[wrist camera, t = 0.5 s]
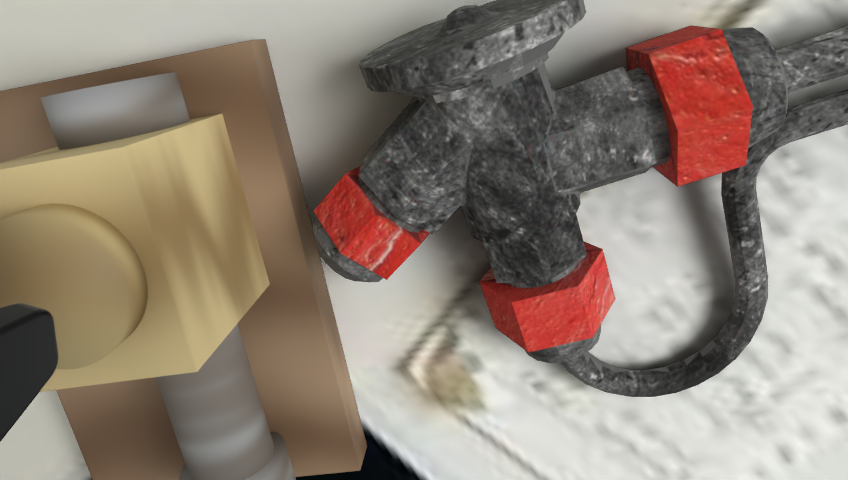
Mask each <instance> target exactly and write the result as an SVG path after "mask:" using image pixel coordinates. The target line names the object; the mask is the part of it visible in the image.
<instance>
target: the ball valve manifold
mask: <svg viewBox="0 0 848 480" xmlns="http://www.w3.org/2000/svg"><path fill="white" fill-rule="evenodd" d="M16 303H25V304H29V305H32V306H36V307H39V308H42V309H45V310H47V311H49V312H50V313H51V315H52V316H53V319H54V325H55V332H56V340H57V348H58V356H59V359H58V364H57V367H56V369H55V371H54V373H53V375H52V376H51V378H50V379H49V380H48V381H47V383H46V384H45V385H44V387H43V388H42V389H41V390H40V392H43V391H51V390H57V393H58V395H59V398H60V400H61V403H62V405H63V407H64V410H65V412H66V415H67V417H68V420H69V422H70V425H71V427H72V430H73V432H74V434H75V437H76V439H77V442H78V444H79V447H80V449H81V452H82V454H83V456H84V459H85V461H86V464H87V466H88V469H89V471H90V474H91V476H92V479H93V480H296V478H295V477H299V476H309V475H319V474H329V473H339V472H349V471H359V470H360V469H361V466H362V462H363V459H364V455H365V452H366V448H367V444H366V440H365V436H364V432H363V428H362V424H361V420H360V416H359V412H358V408H357V404H356V400H355V396H354V392H353V388H352V384H351V380H350V376H349V372H348V368H347V364H346V360H345V356H344V352H343V348H342V344H341V340H340V336H339V332H338V328H337V324H336V320H335V316H334V312H333V308H332V304H331V300H330V296H329V292H328V288H327V284H326V280H325V276H324V272H323V268H322V264H321V260H320V256H319V252H318V249H317V247H316V243H315V237H314V232H313V228H312V224H311V220H310V216H309V212H308V208H307V204H306V200H305V196H304V192H303V188H302V184H301V180H300V176H299V172H298V168H297V164H296V160H295V156H294V152H293V148H292V144H291V140H290V136H289V132H288V128H287V124H286V120H285V116H284V112H283V108H282V104H281V100H280V96H279V92H278V88H277V84H276V80H275V76H274V72H273V68H272V64H271V60H270V56H269V52H268V48H267V44H266V40H265V39H264V40H250V41H245V42H240V43H235V44H230V45H225V46H220V47H215V48H210V49H205V50H201V51H196V52H191V53H186V54H181V55H176V56H171V57H166V58H161V59H156V60H152V61H147V62H142V63H137V64H132V65H127V66H122V67H117V68H112V69H107V70H102V71H98V72H93V73H88V74H83V75H78V76H73V77H68V78H63V79H58V80H53V81H48V82H44V83H39V84H34V85H29V86H24V87H19V88H14V89H9V90H4V91H0V308H1V307H4V306H8V305H12V304H16Z"/></svg>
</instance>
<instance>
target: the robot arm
mask: <svg viewBox="0 0 848 480" xmlns="http://www.w3.org/2000/svg"><path fill="white" fill-rule="evenodd" d="M58 359H59V356H58V348H57V340H56V332H55V325H54V319H53V316H52V315H51V313H50V312H49V311H47V310H45V309H42V308H39V307H36V306H32V305H29V304H25V303H16V304H12V305H8V306H4V307H1V308H0V441H1V440H2V439H3V438H4V436H5V435H6V434H7V432H8V431H9V430H10V429H11V427H12V426H13V425H14V424H15V422H16V421H17V420H18V418H19V417H20V416H21V415H22V413H23V412H24V411H25V410H26V408H27V407H28V406H29V404H30V403H31V402H32V401H33V399H34V398H35V397H36V395H37V394H38V393H39V392H40V390H41V389H42V388H43V387H44V385H45V384H46V383H47V381H48V380H49V379H50V378H51V376H52V375H53V373H54V371H55V369H56V367H57V364H58Z"/></svg>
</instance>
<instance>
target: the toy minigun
mask: <svg viewBox="0 0 848 480" xmlns="http://www.w3.org/2000/svg"><path fill="white" fill-rule="evenodd" d="M489 5H490V6H489ZM585 13H586V10H585V5H584V1H583V0H496V1H493V2H490V3H487V4H485V5H482V6H479V7H478V6H470V5H468V6H463V7H460V8H458V9H456V10H454V11H453V12H451V13H450V14H449V15H448V16H447V18H445V19H443V20H440V21H437V22H434V23H431V24H429V25H426V26H423V27H421V28H418V29H416V30H414V31H412V32H409V33H407V34H405V35H403V36H401V37H399V38H396V39H394V40H393V41H391V42H389V43H387V44H385V45H383V46H381V47H379V48H378V49H376V50H375V51H373V52H371V53H370V54H368V55H367V56H366V57H365V58H363V59H362V60H361V62H360V64H359V66H360V68H361V71H362V74H363V76H364V79H365V81H366V84H367V87H368V88H369V89H370V90H371V91H378V92H386V91H395V92H398V93H401V94H403V95H406V96H411V97H415V98H414V99H413V100H412V101H411V102H410V104H409V105H408V106H407V107H406V108H405V109H404V111H403V112H402V113H401V114H400V115H399V116H398V117H397V119H396V120H395V121H394V122H393V123H392V124H391V125H390V127H389V128H388V129H387V130H386V131H385V132H384V134H383V135H382V136H381V137H380V138H379V139H378V140H377V142H376V143H375V144H374V145H373V146H372V147H371V149H370V150H369V151H368V152H367V153H366V154H365V155H364V157H363V159H362V163H361V166H360V167H358V168H356V169H353V170H351V171H349V172H347V173H346V174H345V175H344V176H343V177H342V178H341V179H340V181H339V182H338V183H337V184H336V185H335V186H334V188H333V189H332V190H331V191H330V192H329V193H328V195H327V196H326V197H325V198H324V199H323V200H322V202H321V203H320V204H319V205H318V206H317V207H316V209H315V210H314V213H315V214H316V216H317V217H316V218H315V220H314V222H313V225H312V226H313V231H314V237H315V243H316V247H317V249H318V252H319V254H320V256H321V257H322V258H323V260H324V261H325V263H326V264H327V265H328V266H330V267H331V268H332V269H333V270H334V271H335V272H336V273H338V274H340V275H341V276H343V277H344V278H347V279H350V280H353V281H362V282H379V281H380V280H381V279H383V278H385V279H386V280H387V279H388V278H389V277H390V276H391V275H392V274H393V272H394V271H395V270H396V269H397V268H398V267H399V266H400V265H401V264H402V263H403V262H404V261H405V260H406V259H407V258H408V257H409V256H410V255H411V254H412V253H413V252H414V251H415V249H416V248H417V247H418V246H419V245H420V244H421V243H422V242H423V241H424V239H425V238H426V237H427V236H428V235H429V233H432V234H435V233H436V232H437V230H438V229H439V228H440V227H441V226H442V225H443V224H444V223H445V222H446V221H447V220H448V219H449V217H450V216H451V215H452V214H453V213H454V212H455V211H456V210H457V209H458V208H459V207H460V206H461V208H462V211H463V213H464V216H465V219H466V222H467V225H468V228H469V231H470V233H471V234H472V235H473V237H474V238H475V239H478V240H480V241H482V242H483V244H484V247H485V250H486V253H487V256H488V259H489V262H490V264H491V268H490V269H489V270H488V272H487V273H486V274H485V275H484V276H483V277H482V279H481V280H480V281H479V282H480V285H481V288H482V291H483V294H484V296H485V299H486V302H487V305H488V308H489V310H490V313H491V316H492V319H493V322H494V325H495V327H496V328H497V329H498V330H499V331H501V332H502V333H503V334H505V335H506V336H507V337H508V338H510V339H511V340H512V341H514V342H515V343H516V344H518V345H519V346H520V347H522V348H523V349H524V350H525V351H526V353H527V354H528V355H529V356H531V357H533V358H534V359H536V360H538V361H543V362H549V363H554V362H561V363H562V364H563V365H564V366H565V368H566V369H567V370H568V371H569V372H570V373H571V374H573V375H574V376H576V377H577V378H578V379H580V380H581V381H583V382H584V383H586V384H587V385H590V386H592V387H595V388H597V389H600V390H602V391H604V392H608V393H613V394H619V395H624V396H630V397H654V396H660V395H666V394H671V393H676V392H679V391H682V390H685V389H688V388H690V387H693V386H696V385H698V384H700V383H702V382H704V381H706V380H707V379H709V378H711V377H713V376H714V375H716V374H718V373H719V372H720V371H722V370H723V369H724V368H725V367H726V366H728V365H729V364H730V363H731V362H733V361H734V360H735V359H736V358H737V357H738V356H739V354H740V353H741V352H742V351H743V350H744V348H745V347H746V346H747V345H748V344H749V342H750V341H751V339H752V337H753V335H754V334H755V332H756V330H757V328H758V326H759V324H760V322H761V320H762V318H763V314H764V310H765V306H766V302H767V299H768V274H767V266H766V259H765V252H764V244H763V237H762V230H761V222H760V215H759V208H758V200H757V193H756V177H757V175H758V172H759V169H760V167H761V165H762V164H763V162H764V161H765V160H766V158H767V157H768V156H769V155H770V154H771V153H773V152H774V151H775V150H776V149H778V148H779V147H781V146H783V145H785V144H787V143H790V142H792V141H795V140H799V139H802V138H805V137H808V136H812V135H815V134H818V133H821V132H824V131H828V130H831V129H834V128H837V127H840V126H844V125H847V124H848V90H845V91H842V92H838V93H835V94H832V95H829V96H826V97H823V98H820V99H816V100H813V101H810V102H807V103H804V104H801V105H798V106H795V107H791V108H788V109H787V106H788V93H789V92H793V91H796V90H799V89H802V88H805V87H808V86H811V85H814V84H817V83H821V82H824V81H827V80H830V79H833V78H836V77H839V76H842V75H845V74H848V26H847V27H844V28H841V29H838V30H835V31H832V32H829V33H826V34H823V35H820V36H817V37H814V38H811V39H808V40H805V41H802V42H799V43H796V44H793V45H789V46H786V47H783V48H780V49H777V50H775V48H774V47H773V46H772V44H771V43H770V41H769V40H768V39H767V38H766V37H765V36H764V35H763V34H762V33H760V32H759V31H757V30H756V29H754V28H734V29H715V28H706V27H698V26H688V27H685V28H682V29H679V30H676V31H674V32H671V33H668V34H665V35H662V36H659V37H656V38H653V39H650V40H647V41H645V42H642V43H639V44H636V45H633V46H630V47H627V48H626V58H627V72H626V70H625V69H624V67H620V68H617V69H614V70H611V71H608V72H606V73H603V74H600V75H597V76H594V77H591V78H589V79H586V80H583V81H580V82H577V83H575V84H572V85H569V86H566V87H563V88H560V89H558V90H552V89H551V86H550V83H549V79H548V75H547V72H546V68H545V65H544V62H545V61H546V60H547V58H548V51H550V50H551V49H552V48H553V47H554V46H555V44H556V43H557V42H558V40H559V39H560V38H561V36H562V35H563V33H564V32H565V31H566V30H568V29H570V28H571V27H573V26H574V25H575V24H576V23H578V22H579V21H580V20H581V19H583V17H584V15H585ZM651 167H653V168H655V169H656V170H657V171H658V172H660V173H661V174H662V175H664V176H665V177H666V178H667V179H669V180H670V181H671V182H672V183H674V184H675V185H676V186H677V187H678V186H681V185H684V184H688V183H691V182H694V181H697V180H700V179H704V178H707V177H710V176H713V175H716V174H720V173H722V189H721V195H722V201H723V207H724V213H725V220H726V226H727V232H728V238H729V245H730V251H731V257H732V263H733V270H734V276H735V294H736V296H735V300H734V304H733V308H732V312H731V314H730V316H729V318H728V320H727V322H726V324H725V326H724V327H723V328H722V329H721V331H720V332H719V333H718V334H717V336H716V337H715V338H714V339H713V340H712V341H711V342H709V343H708V344H707V345H706V346H705V347H703V348H702V349H701V350H700V351H698V352H697V353H695V354H693V355H691V356H690V357H688V358H686V359H684V360H682V361H680V362H677V363H674V364H671V365H669V366H666V367H661V368H656V369H650V370H628V369H623V368H618V367H614V366H612V365H609V364H607V363H605V362H602V361H600V360H599V359H597V358H596V357H595V356H593V355H592V354H590V353H589V352H588V351H589V350H591V349H592V348H593V346H594V345H595V344H596V343H597V342H598V340H599V336H600V332H601V323H602V321H603V319H604V318H605V316H606V314H607V312H608V311H609V309H610V307H611V306H612V304H613V302H614V300H615V296H614V292H613V288H612V284H611V280H610V276H609V272H608V268H607V265H606V261H605V257H604V253H603V249H601V248H598V247H596V246H593V245H591V244H589V243H586V242H584V241H583V238H582V234H581V231H580V227H579V223H578V220H577V216H576V212H577V210H578V208H579V206H580V197H579V195H580V193H581V192H584V191H587V190H590V189H594V188H597V187H600V186H603V185H606V184H610V183H613V182H616V181H619V180H622V179H626V178H629V177H632V176H635V175H638V174H642V173H645V172H646V171H648V170H649V169H650V168H651Z"/></svg>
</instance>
